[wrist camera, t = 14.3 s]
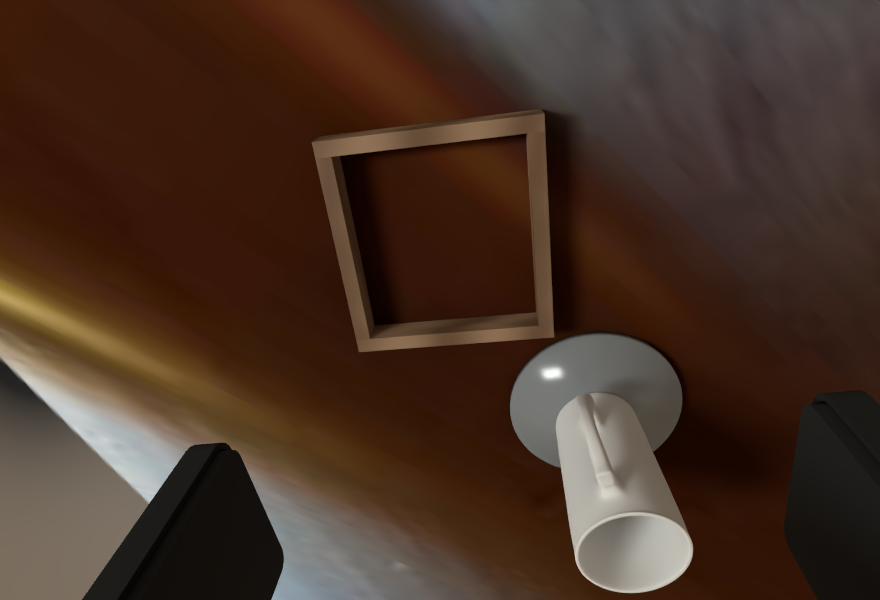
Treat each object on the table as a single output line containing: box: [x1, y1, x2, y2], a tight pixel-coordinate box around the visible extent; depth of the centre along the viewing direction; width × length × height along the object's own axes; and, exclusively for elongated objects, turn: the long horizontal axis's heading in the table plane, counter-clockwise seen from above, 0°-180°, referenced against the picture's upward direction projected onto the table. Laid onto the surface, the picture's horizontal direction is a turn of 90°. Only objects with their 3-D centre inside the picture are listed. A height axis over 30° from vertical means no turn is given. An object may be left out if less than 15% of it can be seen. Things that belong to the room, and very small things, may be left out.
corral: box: [312, 109, 554, 352], centre depth 36 cm, size 14×15×2 cm
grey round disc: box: [510, 332, 682, 468], centre depth 42 cm, size 13×13×1 cm
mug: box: [556, 392, 693, 593], centre depth 37 cm, size 10×7×12 cm, turn 23°
